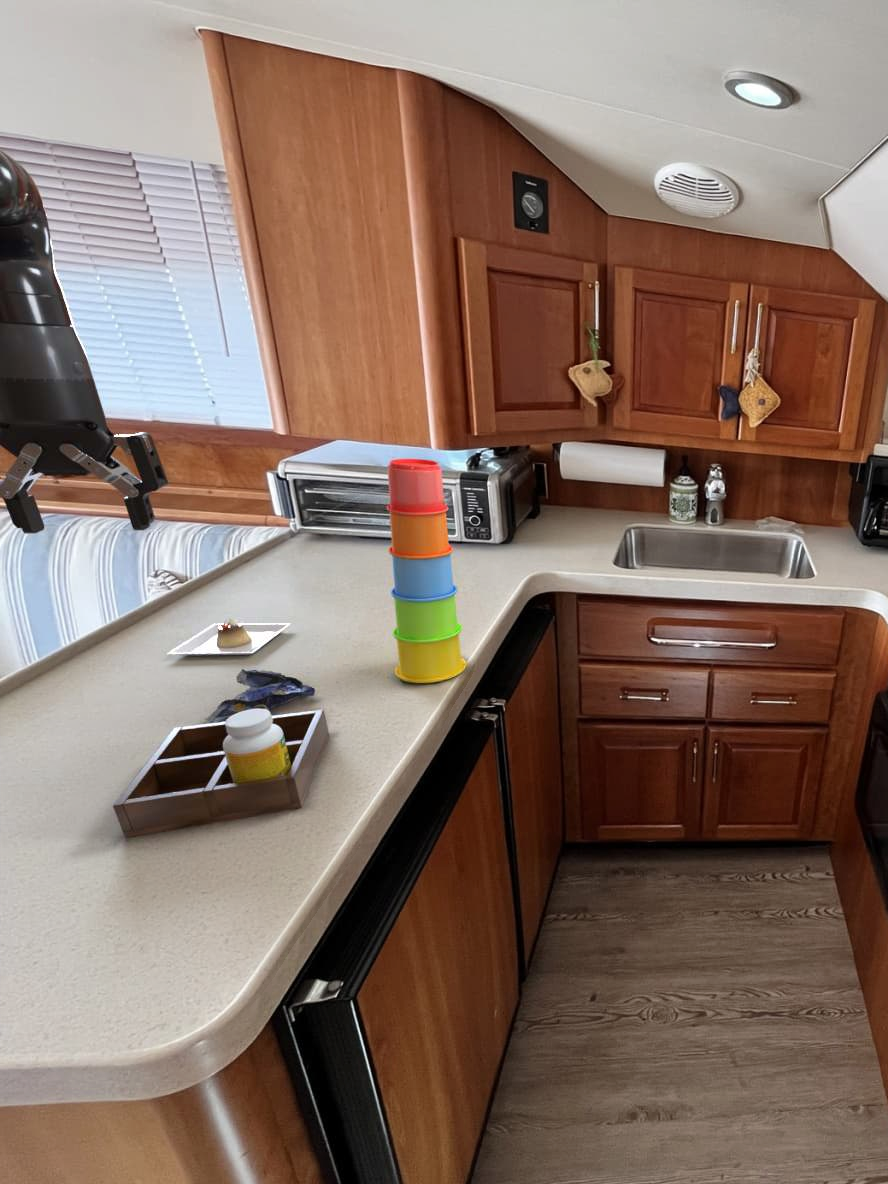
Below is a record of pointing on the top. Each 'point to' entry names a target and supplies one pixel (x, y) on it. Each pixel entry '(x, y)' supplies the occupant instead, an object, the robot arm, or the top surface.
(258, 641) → the dessert
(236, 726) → the supplement bottle
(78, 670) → the top surface
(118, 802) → the compartment tray
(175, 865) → the top surface
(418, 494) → the stacking cups
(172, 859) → the top surface
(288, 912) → the top surface
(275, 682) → the snack package
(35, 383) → the robot arm
